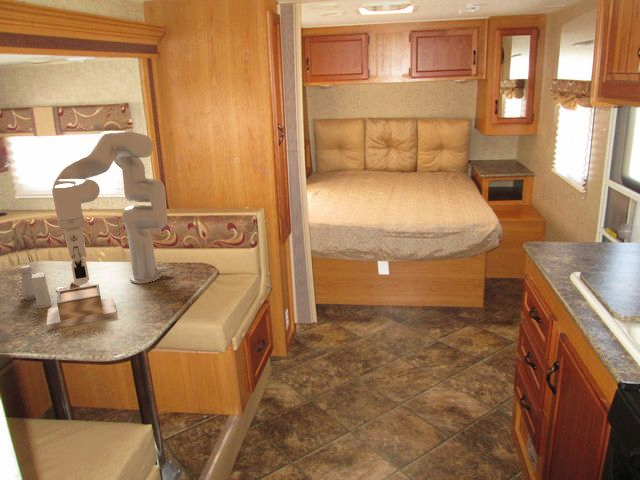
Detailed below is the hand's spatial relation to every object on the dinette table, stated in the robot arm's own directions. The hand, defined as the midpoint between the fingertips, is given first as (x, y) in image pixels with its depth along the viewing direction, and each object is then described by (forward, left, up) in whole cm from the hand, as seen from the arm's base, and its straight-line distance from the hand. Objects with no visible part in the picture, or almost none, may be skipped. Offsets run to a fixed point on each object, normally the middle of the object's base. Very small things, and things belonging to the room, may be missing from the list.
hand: (80, 274), depth 172 cm
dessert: (+4, -37, -19) cm, 42 cm away
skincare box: (+15, -26, -19) cm, 36 cm away
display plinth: (+2, -9, -19) cm, 21 cm away
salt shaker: (+20, -36, -19) cm, 46 cm away
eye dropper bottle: (0, 0, -3) cm, 3 cm away
